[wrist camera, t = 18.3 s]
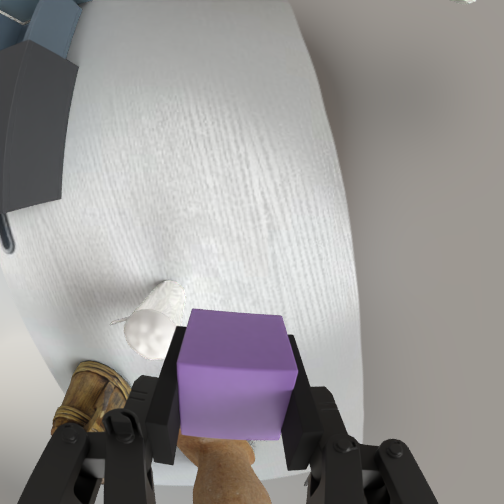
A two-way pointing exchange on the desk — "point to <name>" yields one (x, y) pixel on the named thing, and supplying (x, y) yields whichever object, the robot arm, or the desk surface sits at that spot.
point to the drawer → (40, 23)
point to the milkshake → (155, 320)
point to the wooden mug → (91, 397)
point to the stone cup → (223, 471)
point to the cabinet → (33, 123)
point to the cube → (234, 375)
